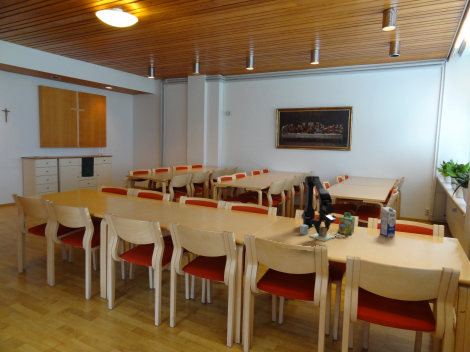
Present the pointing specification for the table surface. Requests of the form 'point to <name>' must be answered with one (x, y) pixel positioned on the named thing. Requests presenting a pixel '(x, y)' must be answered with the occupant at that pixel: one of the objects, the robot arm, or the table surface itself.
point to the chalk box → (346, 224)
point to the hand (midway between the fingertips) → (322, 232)
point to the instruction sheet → (339, 235)
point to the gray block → (304, 229)
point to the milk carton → (388, 222)
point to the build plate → (322, 237)
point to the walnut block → (322, 231)
